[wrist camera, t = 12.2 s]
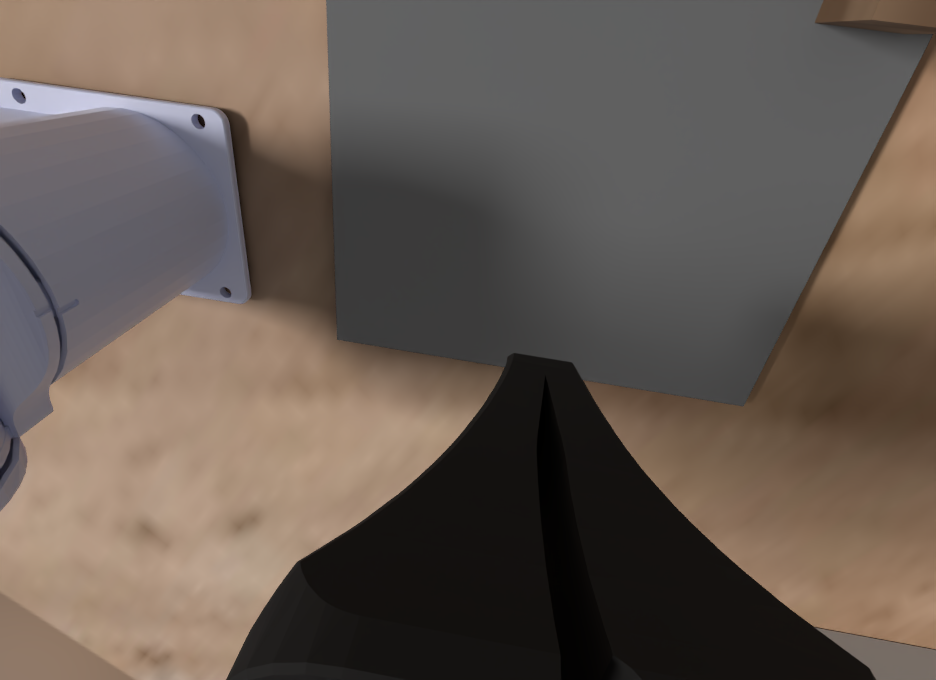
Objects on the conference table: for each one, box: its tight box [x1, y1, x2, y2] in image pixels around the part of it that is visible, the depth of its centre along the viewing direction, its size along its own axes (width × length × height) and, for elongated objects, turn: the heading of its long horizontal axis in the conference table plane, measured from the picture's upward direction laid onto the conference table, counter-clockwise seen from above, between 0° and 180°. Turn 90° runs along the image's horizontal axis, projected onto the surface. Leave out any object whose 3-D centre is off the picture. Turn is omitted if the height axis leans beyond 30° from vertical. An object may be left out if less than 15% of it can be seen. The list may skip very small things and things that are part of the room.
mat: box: [326, 0, 933, 406], centre depth 16 cm, size 18×24×1 cm
